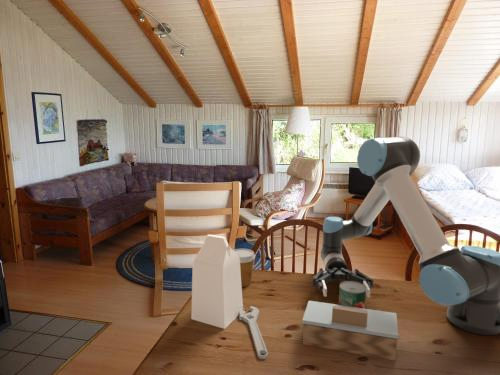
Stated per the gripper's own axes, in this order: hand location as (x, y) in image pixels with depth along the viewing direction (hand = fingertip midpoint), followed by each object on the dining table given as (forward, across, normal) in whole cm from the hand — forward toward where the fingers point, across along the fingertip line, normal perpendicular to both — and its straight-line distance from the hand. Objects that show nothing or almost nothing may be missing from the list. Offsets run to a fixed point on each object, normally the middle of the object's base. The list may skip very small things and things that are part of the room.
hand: (347, 293), depth 122 cm
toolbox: (+16, +2, -6) cm, 17 cm away
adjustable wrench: (+13, +30, -7) cm, 33 cm away
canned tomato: (+5, 0, -7) cm, 8 cm away
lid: (+16, +2, 0) cm, 16 cm away
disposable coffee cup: (-19, +35, -7) cm, 40 cm away
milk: (+4, +41, -6) cm, 41 cm away
